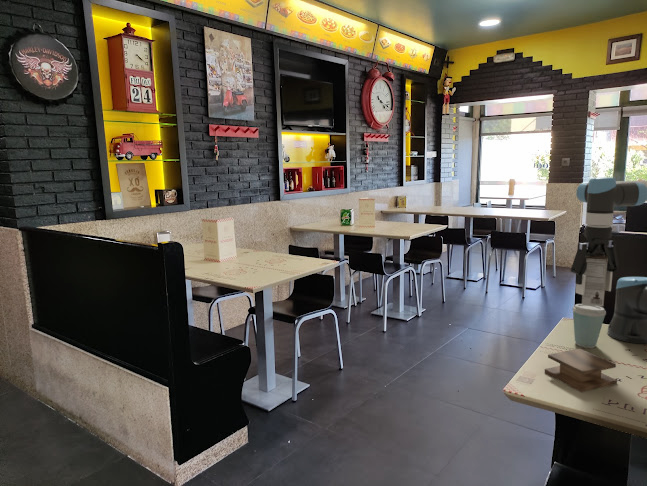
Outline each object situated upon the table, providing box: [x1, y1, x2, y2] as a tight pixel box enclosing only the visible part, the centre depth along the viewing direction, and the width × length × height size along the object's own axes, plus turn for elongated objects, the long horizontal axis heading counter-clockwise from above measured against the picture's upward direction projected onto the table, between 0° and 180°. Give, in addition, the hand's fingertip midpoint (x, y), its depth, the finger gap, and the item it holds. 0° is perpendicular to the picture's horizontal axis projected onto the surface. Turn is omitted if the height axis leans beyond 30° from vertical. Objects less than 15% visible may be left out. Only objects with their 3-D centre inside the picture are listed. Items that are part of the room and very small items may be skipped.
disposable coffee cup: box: [571, 303, 607, 349], centre depth 167 cm, size 11×11×15 cm
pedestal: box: [544, 348, 618, 393], centre depth 143 cm, size 14×14×6 cm
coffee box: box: [581, 252, 608, 308], centre depth 151 cm, size 9×6×16 cm
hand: (593, 292), depth 151 cm, fingers closed on coffee box, 11 cm apart
